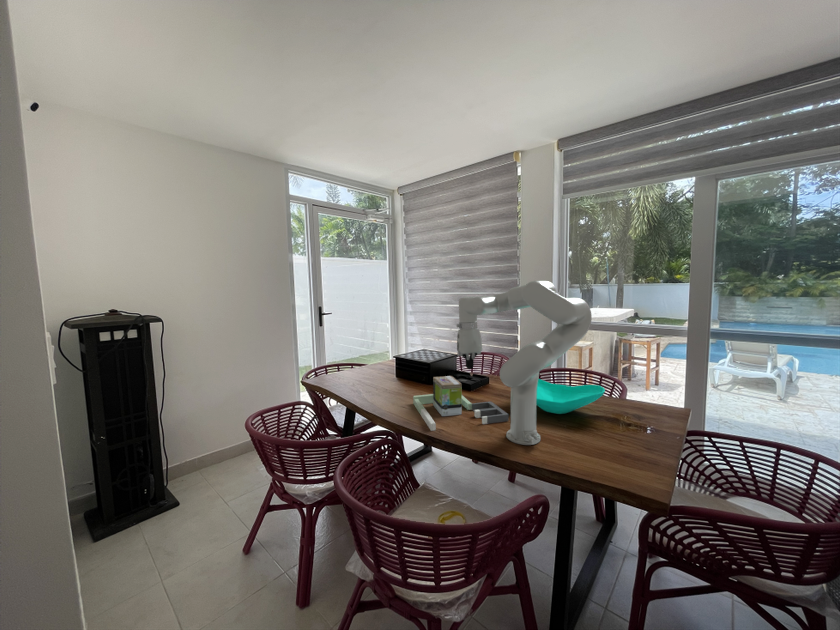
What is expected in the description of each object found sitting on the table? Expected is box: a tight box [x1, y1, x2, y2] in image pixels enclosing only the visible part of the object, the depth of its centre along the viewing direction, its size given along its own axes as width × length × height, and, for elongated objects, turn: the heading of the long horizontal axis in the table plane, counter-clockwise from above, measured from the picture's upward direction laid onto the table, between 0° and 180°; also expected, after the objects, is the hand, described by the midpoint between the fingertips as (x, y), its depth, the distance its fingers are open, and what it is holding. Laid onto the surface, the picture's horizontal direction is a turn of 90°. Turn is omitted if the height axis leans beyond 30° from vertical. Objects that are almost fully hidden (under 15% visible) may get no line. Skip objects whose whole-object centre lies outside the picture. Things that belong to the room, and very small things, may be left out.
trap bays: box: [471, 401, 510, 425], centre depth 152 cm, size 17×10×3 cm, turn 14°
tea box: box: [432, 375, 463, 417], centre depth 159 cm, size 15×10×15 cm, turn 13°
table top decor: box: [536, 378, 606, 415], centre depth 155 cm, size 40×28×13 cm
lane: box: [412, 393, 487, 432], centre depth 156 cm, size 33×25×4 cm
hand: (469, 368), depth 144 cm, fingers closed
